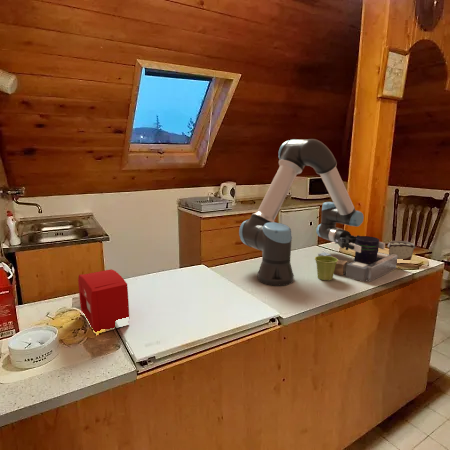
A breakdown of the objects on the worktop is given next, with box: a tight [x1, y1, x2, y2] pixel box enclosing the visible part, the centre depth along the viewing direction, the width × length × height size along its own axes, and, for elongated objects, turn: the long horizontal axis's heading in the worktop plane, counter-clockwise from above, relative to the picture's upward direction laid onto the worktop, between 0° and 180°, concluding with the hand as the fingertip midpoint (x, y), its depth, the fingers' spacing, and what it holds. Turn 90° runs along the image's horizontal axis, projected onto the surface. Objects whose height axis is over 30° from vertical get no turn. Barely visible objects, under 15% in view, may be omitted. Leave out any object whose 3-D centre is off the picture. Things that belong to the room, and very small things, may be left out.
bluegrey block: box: [317, 251, 332, 257], centre depth 161 cm, size 4×4×6 cm
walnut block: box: [333, 259, 348, 276], centre depth 153 cm, size 5×6×5 cm
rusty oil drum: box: [353, 235, 380, 265], centre depth 154 cm, size 10×10×15 cm
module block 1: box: [345, 260, 368, 282], centre depth 147 cm, size 8×7×6 cm
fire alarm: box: [77, 268, 130, 332], centre depth 108 cm, size 16×11×15 cm
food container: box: [387, 240, 416, 261], centre depth 167 cm, size 12×6×10 cm, turn 84°
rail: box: [365, 254, 398, 283], centre depth 151 cm, size 2×25×6 cm, turn 131°
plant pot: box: [314, 255, 339, 281], centre depth 146 cm, size 9×9×9 cm
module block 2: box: [377, 251, 390, 261], centre depth 161 cm, size 8×8×6 cm
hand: (372, 248), depth 151 cm, fingers open, 13 cm apart
